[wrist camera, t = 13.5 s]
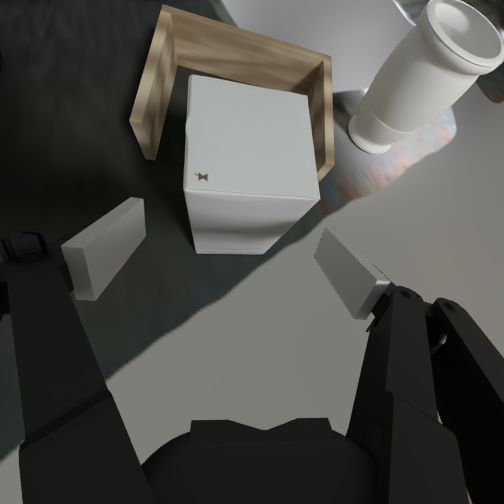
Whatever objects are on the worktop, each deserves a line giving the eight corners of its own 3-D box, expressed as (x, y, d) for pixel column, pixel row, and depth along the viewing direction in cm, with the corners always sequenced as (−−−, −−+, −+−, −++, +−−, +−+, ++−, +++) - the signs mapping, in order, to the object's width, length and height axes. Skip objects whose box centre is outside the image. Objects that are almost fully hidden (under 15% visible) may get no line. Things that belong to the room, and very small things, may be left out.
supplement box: (265, 255, 28) (325, 203, 13) (194, 254, 26) (178, 191, 12) (262, 193, 30) (311, 92, 16) (197, 188, 28) (186, 68, 14)
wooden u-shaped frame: (311, 190, 32) (334, 164, 26) (145, 158, 28) (129, 120, 22) (311, 95, 37) (331, 56, 31) (170, 57, 33) (162, 4, 27)
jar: (388, 115, 39) (491, 7, 25) (399, 163, 37) (520, 73, 23) (337, 106, 37) (418, -17, 23) (345, 156, 35) (441, 53, 20)
